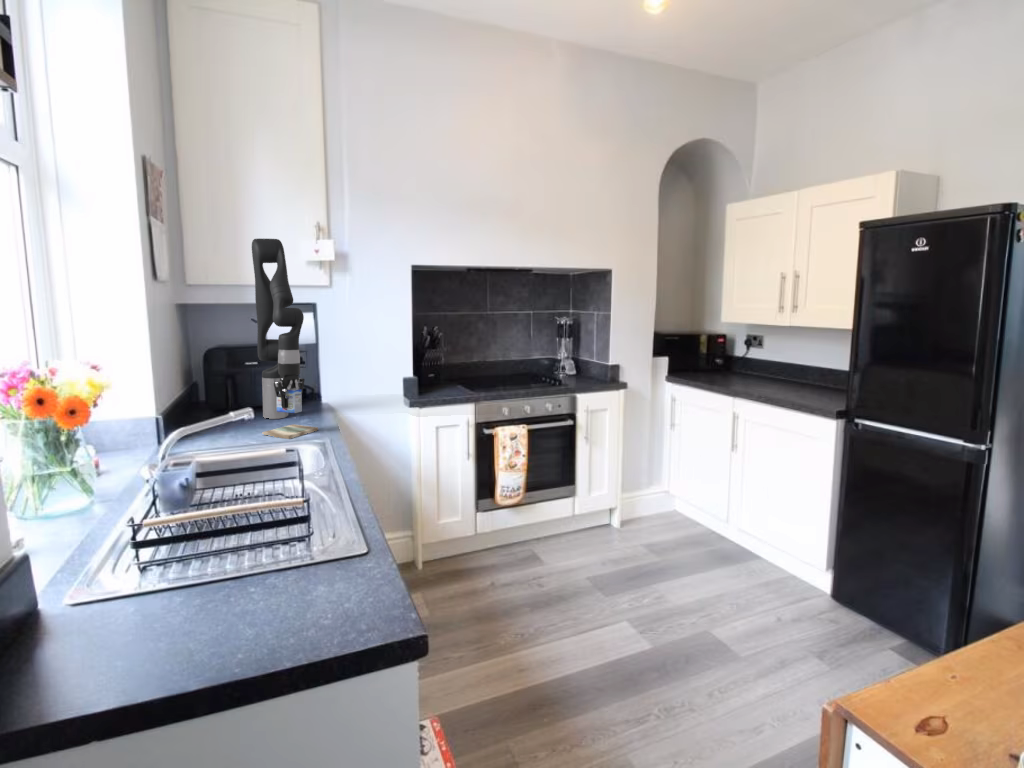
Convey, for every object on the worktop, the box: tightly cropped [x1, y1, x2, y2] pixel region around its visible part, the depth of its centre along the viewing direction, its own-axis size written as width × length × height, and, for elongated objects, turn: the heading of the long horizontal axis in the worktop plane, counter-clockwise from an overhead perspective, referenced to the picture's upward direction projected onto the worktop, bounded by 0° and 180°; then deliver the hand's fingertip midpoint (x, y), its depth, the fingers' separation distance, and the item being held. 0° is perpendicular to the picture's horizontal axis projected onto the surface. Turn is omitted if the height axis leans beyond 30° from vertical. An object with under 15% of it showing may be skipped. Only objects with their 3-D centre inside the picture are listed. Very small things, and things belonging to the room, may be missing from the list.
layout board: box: [261, 423, 319, 440], centre depth 209 cm, size 16×12×1 cm
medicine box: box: [277, 388, 303, 414], centre depth 208 cm, size 8×4×9 cm, turn 76°
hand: (290, 406), depth 208 cm, fingers closed on medicine box, 4 cm apart
